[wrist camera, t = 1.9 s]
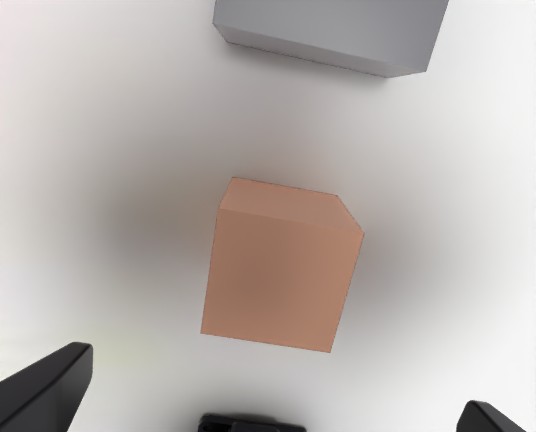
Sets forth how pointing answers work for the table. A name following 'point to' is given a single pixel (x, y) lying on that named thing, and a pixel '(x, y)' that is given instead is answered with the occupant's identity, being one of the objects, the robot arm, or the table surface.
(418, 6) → the gray box
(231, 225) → the terracotta block
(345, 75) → the table surface
